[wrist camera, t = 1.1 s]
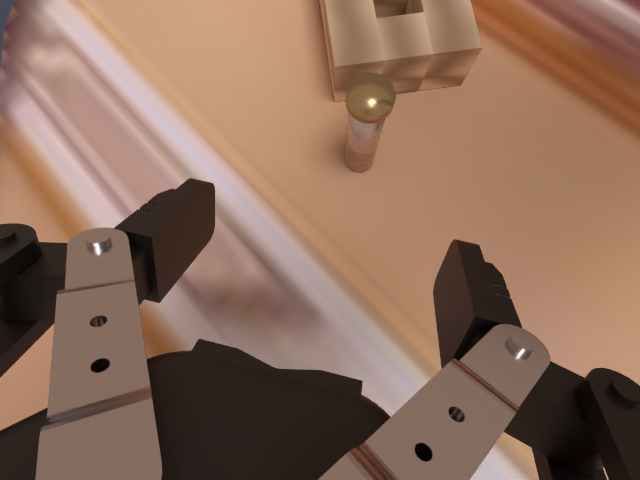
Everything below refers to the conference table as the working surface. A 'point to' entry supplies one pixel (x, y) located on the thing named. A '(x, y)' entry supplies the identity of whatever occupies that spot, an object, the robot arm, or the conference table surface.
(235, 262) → the conference table surface
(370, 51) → the maple hitch block
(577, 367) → the conference table surface
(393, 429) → the robot arm
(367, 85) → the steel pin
